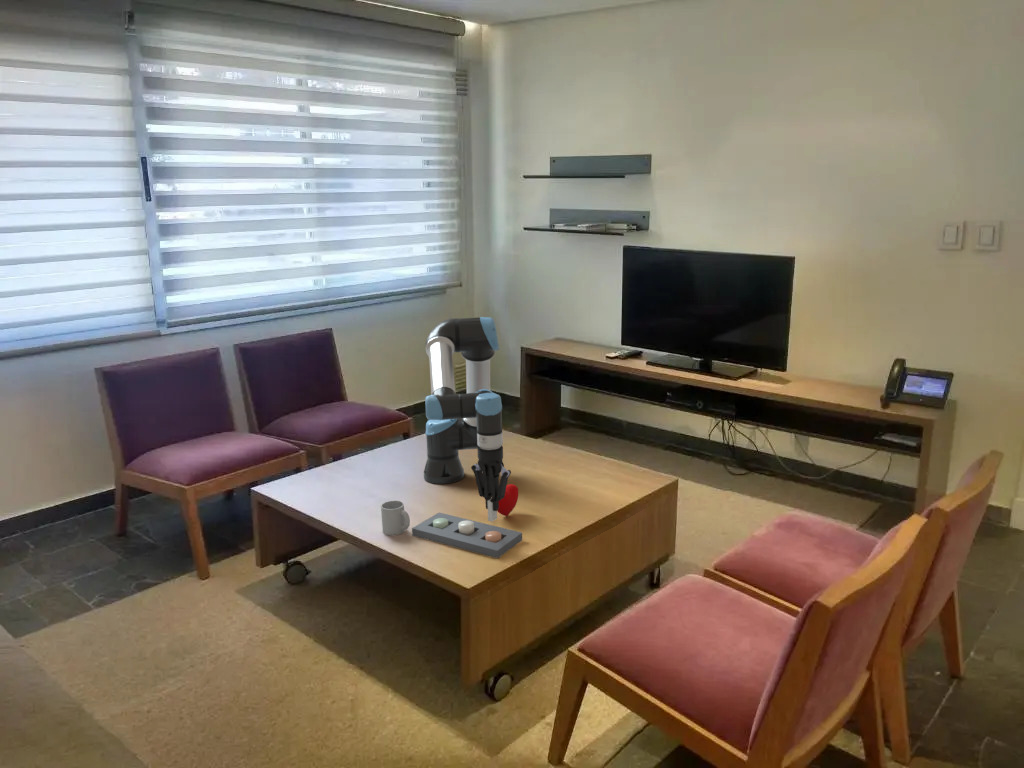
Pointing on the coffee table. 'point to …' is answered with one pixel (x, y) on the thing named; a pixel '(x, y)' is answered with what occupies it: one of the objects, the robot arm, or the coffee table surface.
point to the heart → (508, 500)
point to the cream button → (466, 527)
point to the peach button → (493, 536)
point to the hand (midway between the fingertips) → (492, 519)
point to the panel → (470, 543)
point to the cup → (394, 518)
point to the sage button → (440, 523)
